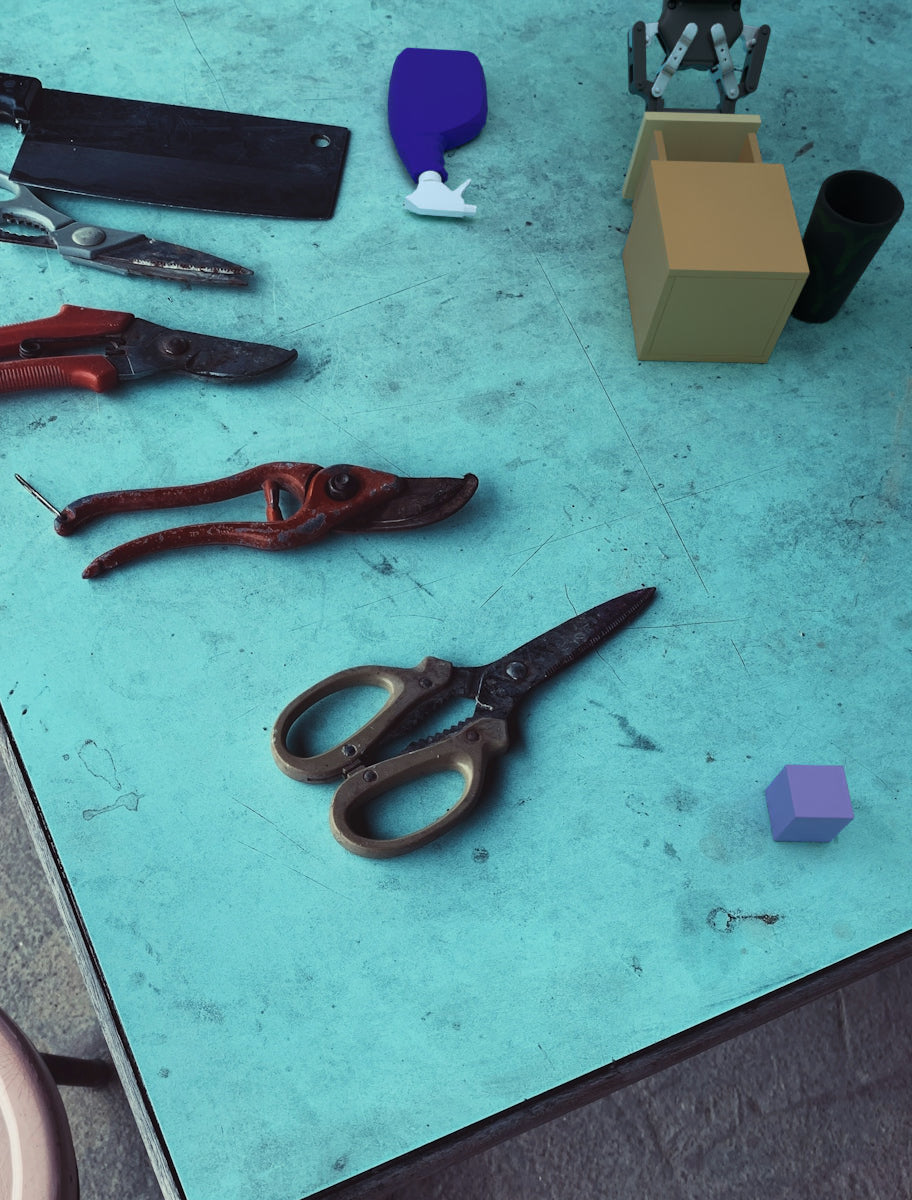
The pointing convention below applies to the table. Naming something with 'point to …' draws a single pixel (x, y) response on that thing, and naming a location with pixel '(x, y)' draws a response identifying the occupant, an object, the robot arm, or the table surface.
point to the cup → (844, 239)
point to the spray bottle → (435, 121)
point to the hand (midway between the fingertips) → (686, 142)
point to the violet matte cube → (809, 803)
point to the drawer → (690, 142)
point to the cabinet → (713, 261)
